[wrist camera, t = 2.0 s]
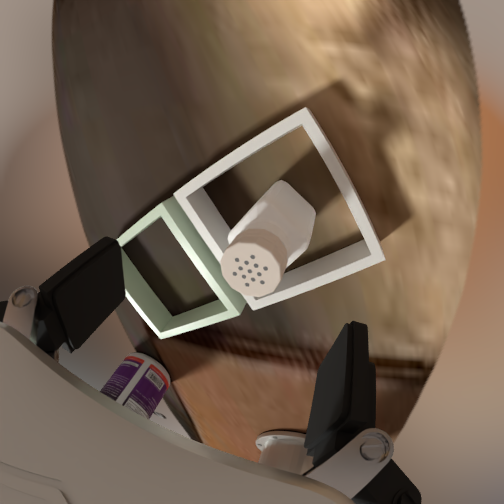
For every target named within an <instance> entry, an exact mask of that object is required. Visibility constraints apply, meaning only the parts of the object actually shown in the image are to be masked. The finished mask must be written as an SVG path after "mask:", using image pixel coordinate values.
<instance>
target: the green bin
mask: <svg viewBox="0 0 504 504" xmlns="http://www.w3.org/2000/svg"><path fill="white" fill-rule="evenodd" d="M160 217H162V218H163V219H164V221H165V222H166V224H167V225H168V227H169V228H170V230H171V231H172V233H173V234H174V236H175V237H176V239H177V240H178V242H179V243H180V244H181V246H182V247H183V249H184V250H185V252H186V253H187V255H188V256H189V257H190V259H191V260H192V262H193V263H194V264H195V266H196V267H197V269H198V270H199V271H200V273H201V274H202V276H203V277H204V278H205V280H206V281H207V283H208V284H209V285H210V287H211V288H212V289H213V291H214V292H215V293H216V295H217V296H218V298H219V300H216V301H213V302H211V303H208V304H205V305H203V306H200V307H198V308H195V309H192V310H190V311H187V312H184V313H182V314H179V315H176V316H172V315H171V314H170V312H169V311H168V310H167V309H166V307H165V306H164V305H163V304H162V302H161V301H160V300H159V298H158V297H157V296H156V295H155V293H154V292H153V291H152V289H151V288H150V287H149V285H148V284H147V283H146V281H145V280H144V279H143V277H142V276H141V274H140V273H139V272H138V270H137V269H136V268H135V266H134V265H133V263H132V262H131V260H130V259H129V258H128V256H127V255H126V253H125V252H124V250H123V249H122V247H123V246H124V245H125V244H127V243H128V242H129V241H130V240H132V239H133V238H134V237H135V236H137V235H138V234H139V233H141V232H142V231H143V230H144V229H146V228H147V227H148V226H150V225H151V224H152V223H154V222H155V221H156V220H158V219H159V218H160ZM117 241H118V242H119V245H120V246H121V252H122V264H123V274H124V283H125V291H126V295H125V296H126V297H127V299H128V300H129V301H130V302H131V304H132V305H133V306H134V308H135V309H136V310H137V311H138V313H139V314H140V315H141V316H142V318H143V319H144V320H145V321H146V322H147V324H148V325H149V326H150V327H151V329H152V330H153V331H154V332H155V333H156V334H157V336H158V337H159V338H160V339H164V338H167V337H171V336H174V335H178V334H181V333H184V332H188V331H191V330H194V329H198V328H201V327H204V326H207V325H210V324H214V323H217V322H220V321H223V320H226V319H229V318H232V317H235V316H238V315H240V314H241V312H242V310H243V308H244V306H245V304H246V302H247V301H246V300H245V298H244V297H243V296H242V294H241V293H240V292H238V291H236V290H234V289H233V288H231V286H230V285H229V284H228V282H227V281H226V280H225V278H224V277H223V276H222V270H221V264H220V263H219V261H218V260H217V259H216V257H215V256H214V254H213V253H212V251H211V250H210V248H209V247H208V245H207V244H206V243H205V241H204V240H203V238H202V237H201V235H200V234H199V232H198V231H197V229H196V228H195V226H194V225H193V223H192V222H191V220H190V219H189V217H188V216H187V214H186V213H185V211H184V210H183V208H182V207H181V205H180V204H179V202H178V201H177V199H176V198H175V196H172V197H171V198H169V199H167V200H165V201H164V202H162V203H160V204H159V205H158V206H157V207H155V208H154V209H153V210H152V211H150V212H149V213H148V214H147V215H145V216H144V217H143V218H142V219H140V220H139V221H138V222H137V223H136V224H134V225H133V226H132V227H131V228H130V229H128V230H127V231H126V232H125V233H124V234H123V235H121V236H120V237H119V238H118V239H117Z"/></svg>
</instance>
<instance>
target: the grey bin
mask: <svg viewBox="0 0 504 504" xmlns="http://www.w3.org/2000/svg"><path fill="white" fill-rule="evenodd" d="M302 125H303V127H304V129H305V130H306V132H307V133H308V135H309V137H310V138H311V140H312V142H313V143H314V145H315V147H316V148H317V150H318V152H319V153H320V155H321V157H322V158H323V160H324V162H325V164H326V165H327V167H328V169H329V171H330V173H331V174H332V176H333V178H334V180H335V182H336V183H337V185H338V187H339V189H340V191H341V193H342V195H343V197H344V199H345V201H346V202H347V204H348V206H349V208H350V210H351V212H352V214H353V216H354V218H355V220H356V222H357V225H358V227H359V229H360V231H361V233H362V235H363V237H364V240H361V241H359V242H357V243H354V244H352V245H350V246H348V247H345V248H343V249H341V250H338V251H336V252H334V253H331V254H329V255H327V256H324V257H322V258H320V259H317V260H315V261H313V262H310V263H308V264H305V265H303V266H301V267H298V268H296V269H293V270H291V271H289V272H286V273H284V274H283V277H282V280H281V282H280V283H279V284H278V286H277V287H276V289H275V290H274V292H271V293H269V294H266V295H264V296H261V297H255V296H245V295H243V294H242V293H241V294H242V296H243V297H244V298H245V300H246V301H247V303H248V304H249V305H250V307H251V308H252V310H256V309H259V308H262V307H265V306H268V305H270V304H273V303H276V302H279V301H282V300H284V299H287V298H290V297H293V296H295V295H298V294H301V293H304V292H306V291H309V290H312V289H314V288H317V287H319V286H322V285H325V284H327V283H330V282H332V281H335V280H337V279H340V278H342V277H345V276H348V275H350V274H352V273H355V272H357V271H360V270H362V269H365V268H367V267H369V266H372V265H374V264H377V263H379V262H381V261H384V260H385V256H384V253H383V249H382V246H381V243H380V240H379V238H378V236H377V233H376V231H375V229H374V227H373V224H372V222H371V220H370V218H369V216H368V214H367V211H366V209H365V207H364V205H363V203H362V201H361V199H360V197H359V195H358V193H357V191H356V189H355V187H354V185H353V183H352V181H351V179H350V177H349V176H348V174H347V172H346V170H345V168H344V166H343V164H342V163H341V161H340V159H339V157H338V155H337V154H336V152H335V150H334V148H333V147H332V145H331V143H330V141H329V140H328V138H327V136H326V135H325V133H324V131H323V130H322V128H321V126H320V125H319V123H318V122H317V120H316V118H315V117H314V115H313V114H312V112H311V110H310V109H309V108H306V107H305V108H303V109H301V110H299V111H298V112H296V113H294V114H292V115H291V116H289V117H287V118H286V119H284V120H282V121H280V122H279V123H277V124H275V125H274V126H272V127H270V128H269V129H267V130H266V131H264V132H262V133H261V134H259V135H257V136H256V137H254V138H253V139H251V140H250V141H248V142H246V143H245V144H243V145H242V146H240V147H239V148H237V149H236V150H234V151H233V152H231V153H230V154H228V155H227V156H225V157H224V158H222V159H221V160H219V161H218V162H216V163H215V164H213V165H212V166H211V167H209V168H208V169H206V170H205V171H203V172H202V173H201V174H199V175H198V176H196V177H195V178H194V179H192V180H191V181H190V182H188V183H187V184H185V185H184V186H183V187H181V188H180V189H179V190H177V191H176V192H175V193H173V195H174V196H175V198H176V199H177V201H178V202H179V204H180V205H181V207H182V208H183V210H184V211H185V213H186V214H187V216H188V217H189V219H190V220H191V222H192V223H193V225H194V226H195V228H196V229H197V231H198V232H199V234H200V235H201V237H202V238H203V240H204V241H205V243H206V244H207V245H208V247H209V248H210V250H211V251H212V253H213V254H214V256H215V257H216V259H217V260H218V261H219V263H220V261H221V258H222V256H223V254H224V252H225V250H226V248H227V247H228V246H229V242H228V235H229V232H230V231H231V230H230V228H229V227H228V225H227V224H226V222H225V221H224V219H223V217H222V216H221V214H220V213H219V211H218V210H217V208H216V207H215V205H214V204H213V202H212V201H211V199H210V198H209V196H208V195H207V193H206V192H205V190H204V189H203V187H204V186H205V185H207V184H208V183H210V182H211V181H213V180H214V179H216V178H217V177H219V176H220V175H222V174H223V173H225V172H226V171H228V170H229V169H231V168H232V167H234V166H235V165H237V164H239V163H240V162H242V161H243V160H245V159H246V158H248V157H250V156H251V155H253V154H255V153H256V152H258V151H259V150H261V149H263V148H264V147H266V146H268V145H269V144H271V143H273V142H274V141H276V140H278V139H279V138H281V137H283V136H285V135H286V134H288V133H290V132H292V131H293V130H295V129H297V128H299V127H300V126H302ZM220 264H221V263H220Z"/></svg>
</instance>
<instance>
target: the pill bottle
mask: <svg viewBox="0 0 504 504" xmlns="http://www.w3.org/2000/svg"><path fill="white" fill-rule="evenodd" d="M169 385H170V377H169V374H168V372H167V371H166V369H165V368H164V367H163V366H162V365H161V364H160V363H159V362H157V361H156V360H155V359H153V358H151V357H149V356H147V355H145V354H142V353H137V352H134V353H130V354H129V355H128V356H127V357H126V358H125V359H124V361H123V362H122V363H121V365H120V366H119V367H118V369H117V370H116V371H115V372H114V374H113V375H112V376H111V378H110V379H109V380H108V382H107V383H106V384H105V386H104V387H103V388H102V389H101V391H100V392H101V393H102V394H104V395H106V396H107V397H109V398H111V399H112V400H114V401H116V402H117V403H119V404H121V405H122V406H124V407H126V408H128V409H130V410H131V411H133V412H135V413H137V414H139V415H141V416H142V417H144V418H146V419H148V420H149V418H150V417H151V415H152V414H153V412H154V410H155V409H156V407H157V405H158V404H159V402H160V400H161V399H162V397H163V396H164V394H165V392H166V391H167V389H168V387H169Z"/></svg>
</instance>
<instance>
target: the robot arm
mask: <svg viewBox="0 0 504 504" xmlns="http://www.w3.org/2000/svg"><path fill="white" fill-rule="evenodd" d="M39 289H40V292H39V293H37V290H36V289H35V288H34V287H31V286H23V287H20V288H18V289H17V290H15V291H14V292H13V293H12V294H11V296H10V298H9V301H2V302H0V504H421V494H420V492H419V490H418V489H417V488H416V486H415V485H414V484H413V483H412V482H411V481H410V480H409V478H408V477H407V476H406V475H405V474H404V473H403V471H402V470H401V469H400V468H399V467H398V466H397V464H396V463H395V462H394V461H393V460H392V459H391V457H392V455H393V452H394V446H393V442H392V439H391V438H390V436H389V435H388V434H387V433H386V432H384V431H383V430H380V429H378V428H375V419H376V369H375V364H374V363H372V362H369V351H368V327H367V325H366V324H362V323H359V322H356V321H352V322H351V323H350V324H348V323H346V324H345V325H344V327H343V329H342V330H341V332H340V334H339V336H338V337H337V339H336V341H335V342H334V344H333V346H332V347H331V349H330V351H329V352H328V354H327V355H326V357H325V359H324V360H323V362H322V363H321V365H320V367H319V369H318V373H317V379H316V385H315V391H314V396H313V402H312V407H311V413H310V418H309V423H308V428H307V433H306V434H302V433H297V432H290V431H270V432H265V433H262V434H261V435H259V436H258V437H257V440H256V446H257V447H258V448H259V449H260V450H261V451H262V453H261V456H260V459H259V462H258V463H256V462H253V461H250V460H247V459H244V458H241V457H237V456H235V455H232V454H229V453H226V452H223V451H220V450H217V449H215V448H212V447H209V446H207V445H204V444H201V443H199V442H196V441H194V440H191V439H189V438H186V437H184V436H182V435H180V434H177V433H175V432H173V431H171V430H169V429H167V428H165V427H162V426H160V425H158V424H156V423H154V422H152V421H150V420H148V419H146V418H144V417H142V416H141V415H139V414H137V413H135V412H133V411H131V410H130V409H128V408H126V407H124V406H122V405H121V404H119V403H117V402H116V401H114V400H112V399H111V398H109V397H107V396H106V395H104V394H102V393H101V392H99V391H98V390H96V389H95V388H93V387H92V386H90V385H89V384H87V383H86V382H84V381H83V380H81V379H80V378H78V377H77V376H75V375H74V374H72V373H71V372H70V371H68V370H67V369H66V368H64V367H63V366H62V365H60V364H59V363H58V360H59V359H58V358H59V347H60V346H61V345H62V347H63V348H64V349H65V350H67V351H69V353H72V352H73V351H74V350H75V349H78V348H80V347H81V345H82V344H83V343H84V342H85V341H86V340H87V339H88V338H89V337H90V335H91V334H92V333H93V332H94V331H95V330H96V329H97V328H98V327H99V326H100V325H101V324H102V322H103V321H104V320H105V319H106V318H107V317H108V316H109V315H110V314H111V313H112V312H113V311H114V310H115V309H116V308H117V307H118V306H119V304H120V303H121V302H122V301H123V300H124V298H125V295H126V291H125V283H124V274H123V264H122V252H121V246H120V245H119V242H118V241H117V240H115V239H112V238H110V237H104V238H102V239H101V240H99V241H98V242H97V243H95V244H94V245H92V246H91V247H90V248H88V249H87V250H86V251H84V252H83V253H81V254H80V255H79V256H77V257H76V258H75V259H73V260H72V261H71V262H69V263H68V264H67V265H65V266H64V267H63V268H61V269H60V270H59V271H58V272H56V273H55V274H54V275H53V276H51V277H50V278H49V279H48V280H46V281H45V282H44V283H43V284H41V285H40V286H39Z"/></svg>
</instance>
